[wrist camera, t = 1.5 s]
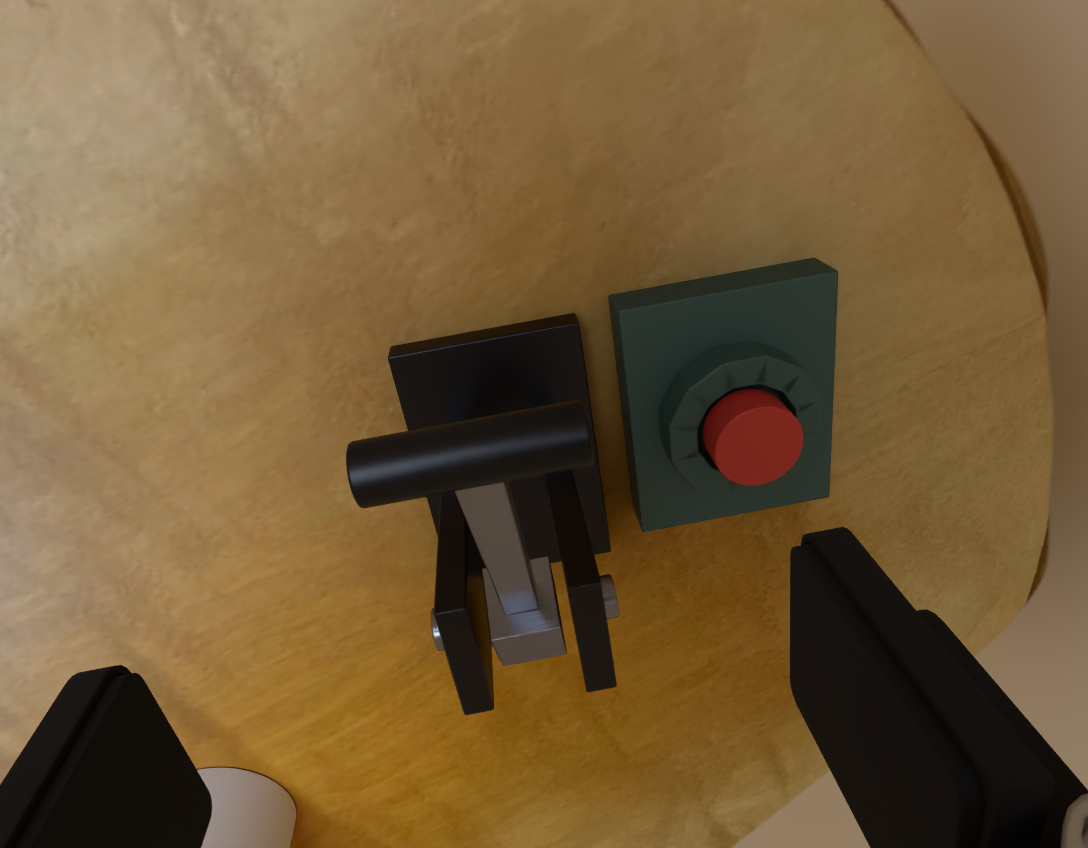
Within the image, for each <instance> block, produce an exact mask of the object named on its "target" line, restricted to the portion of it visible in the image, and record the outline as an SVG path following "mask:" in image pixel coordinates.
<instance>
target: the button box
mask: <svg viewBox="0 0 1088 848" xmlns="http://www.w3.org/2000/svg"><path fill="white" fill-rule="evenodd" d="M837 288H838V271H837V270H835V269H833V268H832V267H830V266H828V265H826V264H825V263H823V262H821V261H819V260H818V259H816V258H811V259H805V260H800V261H794V262H789V263H783V264H778V265H772V266H767V267H761V268H756V269H750V270H745V271H739V272H734V273H729V274H723V275H718V276H712V277H707V278H701V279H696V280H690V281H685V282H679V283H674V284H668V285H663V286H657V287H652V288H647V289H641V290H636V291H630V292H625V293H619V294H614V295H610V296H609V297H608V298H609V306H610V315H611V323H612V332H613V340H614V349H615V357H616V366H617V374H618V383H619V391H620V400H621V408H622V417H623V425H624V434H625V442H626V451H627V459H628V467H629V476H630V484H631V493H632V501H633V507H634V510H635V513H636V515H637V518H638V521H639V523H640V526H641V529H642V531H643V532H645V531H651V530H656V529H661V528H667V527H672V526H677V525H683V524H688V523H693V522H699V521H704V520H709V519H715V518H720V517H725V516H731V515H736V514H741V513H746V512H752V511H757V510H762V509H768V508H773V507H778V506H784V505H789V504H794V503H800V502H805V501H810V500H816V499H821V498H826V497H829V491H830V466H831V440H832V415H833V390H834V364H835V339H836V313H837ZM743 389H761V390H765V391H768V392H770V393H772V394H773V395H775V396H776V397H777V398H779V400H780V401H781V402H782V403H783V404H784V405H785V406H786V407H787V408H788V409H789V410H790V411H791V413H792V414H793V415H794V416H795V417H796V418H797V419H798V421H799V423H800V424H801V427H802V430H803V447H802V450H801V453H800V455H799V457H798V459H797V461H796V462H795V464H794V465H793V466H792V467H791V468H790V469H789V470H788V471H787V472H786V473H785V474H783V475H782V476H781V477H779V478H777V479H775V480H773V481H771V482H768V483H766V484H761V485H755V486H747V485H741V484H737V483H735V482H732V481H730V480H729V479H727V478H726V477H725V476H724V475H723V474H722V473H721V472H720V471H719V469H718V467H717V466H716V464H715V463H714V461H713V459H712V458H711V456H710V455H709V453H708V451H707V450H706V448H705V445H704V442H703V426H704V422H705V420H706V417H707V415H708V414H709V412H710V410H711V409H712V408H713V407H714V406H715V405H716V404H717V403H718V402H719V401H720V400H721V399H722V398H724V397H726V396H727V395H729V394H731V393H733V392H736V391H739V390H743Z"/></svg>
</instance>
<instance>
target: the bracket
mask: <svg viewBox="0 0 1088 848" xmlns="http://www.w3.org/2000/svg"><path fill="white" fill-rule="evenodd" d="M388 361H389V364H390V368H391V371H392V375H393V379H394V382H395V386H396V389H397V393H398V396H399V400H400V403H401V407H402V411H403V414H404V418H405V421H406V425H407V428H408V431H411V430H416V429H422V428H427V427H432V426H438V425H443V424H449V423H454V422H459V421H465V420H470V419H476V418H481V417H486V416H492V415H497V414H503V413H508V412H513V411H519V410H524V409H530V408H535V407H540V406H546V405H551V404H557V403H562V402H568V401H573V400H578V399H579V400H582V402H583V404H584V407H585V411H586V414H587V419H588V423H589V428H590V434H591V439H592V446H593V453H594V463H593V465H592V466H589V467H583V468H578V469H572V470H567V471H562V472H556V473H551V474H546V475H540V476H535V477H530V478H524V479H519V480H513V481H509V485H510V489H511V493H512V496H513V500H514V504H515V507H516V511H517V515H518V518H519V522H520V526H521V530H522V533H523V537H524V541H525V544H526V548H527V552H528V556H529V559H530V560H531V559H536V558H541V557H547V556H548V557H549V560H550V563H553V562H558V561H562V566H563V571H564V577H565V582H566V587H567V592H568V598H569V603H570V608H571V613H572V619H573V624H574V629H575V634H576V640H577V645H578V650H579V655H580V661H581V666H582V671H583V676H584V681H585V687H586V691H587V692H593V691H598V690H603V689H608V688H614V687H616V686H617V683H616V676H615V670H614V663H613V657H612V650H611V644H610V637H609V630H608V624H607V619H611V618H616V617H619V609H618V602H617V597H616V592H615V588H614V583H613V580H612V577H611V575H610V574H608V575H602V576H599V572H598V568H597V564H596V561H595V557H594V555H595V554H601V553H606V552H610V551H611V547H610V540H609V533H608V526H607V519H606V512H605V505H604V498H603V490H602V483H601V476H600V469H599V462H598V455H597V448H596V441H595V433H594V426H593V419H592V412H591V405H590V398H589V391H588V384H587V376H586V369H585V362H584V355H583V348H582V341H581V334H580V327H579V322H578V320H577V317H576V315H575V313H572V314H566V315H561V316H555V317H550V318H544V319H539V320H533V321H528V322H523V323H517V324H512V325H506V326H501V327H495V328H490V329H484V330H479V331H473V332H468V333H462V334H457V335H452V336H446V337H441V338H435V339H430V340H424V341H419V342H413V343H408V344H402V345H397V346H392V347H391V348H390V352H389V356H388ZM427 500H428V503H429V507H430V510H431V514H432V517H433V521H434V524H435V528H436V532H437V535H438V549H437V566H436V583H435V601H434V608H432V611H431V628H432V635H433V639H434V643H435V646H436V648H437V650H438V651H442V650H445V653H446V657H447V660H448V663H449V667H450V670H451V673H452V676H453V680H454V683H455V686H456V690H457V693H458V696H459V699H460V703H461V706H462V709H463V713H464V714H465V715H470V714H475V713H480V712H486V711H491V710H493V709H494V691H493V668H492V645H491V641H490V636H489V627H488V619H487V610H486V602H485V593H484V585H483V576H482V569H483V568H486V566H485V564H484V562H483V559H482V557H481V554H480V552H479V549H478V547H477V544H476V542H475V539H474V537H473V535H472V532H471V530H470V527H469V525H468V522H467V520H466V517H465V515H464V512H463V510H462V508H461V505H460V503H459V500H458V498H457V495H456V493H455V491H454V492H449V493H444V494H438V495H433V496H428V497H427Z"/></svg>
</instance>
